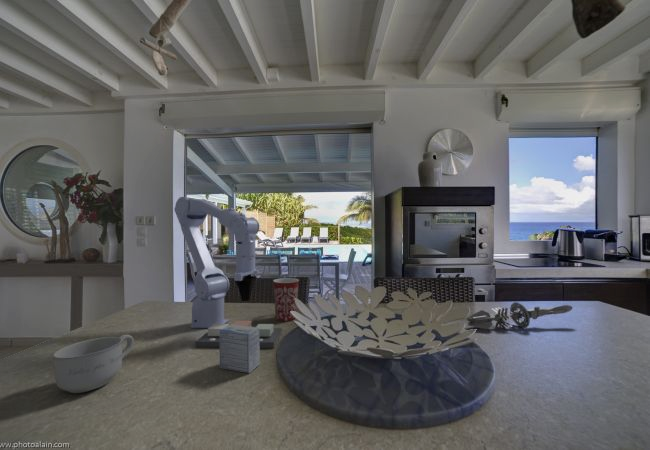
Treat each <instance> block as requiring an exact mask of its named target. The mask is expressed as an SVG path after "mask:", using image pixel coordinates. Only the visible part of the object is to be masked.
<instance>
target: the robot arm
mask: <svg viewBox="0 0 650 450" xmlns="http://www.w3.org/2000/svg"><path fill="white" fill-rule="evenodd" d="M174 213H175V215H176V218H177V221H178V223H179V226H180V229H181V232H182V235H183V237H184V239H185V243H186V245H187V248H188V249H189V252H190V255H191V258H192V260H193V262H194V265H195V267H196V270H197V274H196V275H195V276H194V278H193V279H192V280H193V283H194V293H195V294H196V296H197V297H196V298H194V299H193V301H192V305H191V325H190V329H191V328H193V329H197V328H198V329H202V328H203V329H208V328H209V327H211V326H212V325H213V324H227V322H228V321H230V320H229V318H225V296H226V294H227V293H228V291H229V289H230V280H229V278H228V277H227V275H225V274H224V272H223V270H222V269H220V268H218V267H217V266H215V263H214V261H213V258H212V256H211V254H210V251H209V249H208V247H207V244H206V242H205V239H204V237H203V233H202V232H201V229H200V226H202V224H204V221H205V219H206V218H207V216H211V217H214V218H216V219H217V220H218V223H219V224H220V225H222V226H224V227H225V228H228V229H229V230H230V231H232V233H233V234H234V241H235V243H236V244H235V245H236V246H235V249H236V250H235V251H236V252H235V256H236V257H235V273H234V275H233V276H234V278H233V280H234V283H235V284H236V286H237V288H238V290H239V295H240V300H241V301H242V302H249V301H250V300H251V296H252V291H253V286H254V284H255V281H256V280H257V276H256V275H255V274H259V273H260V270H259V269H256V235H257V234H258V233H259V230H260V222H259V221H258V220H257V219H256V218H255V217H251V216H250V217H247V216H246V214H245V213H239V212H237V211H236V208H234V207H229V208H228V207H227V208H223V209H222V208H221V207H220V206H217V205H216V204H214V203H212V201H210V200H207V199H204V198H201V199H200V198H193V197H186V196H179V197H178V199H177V200H176V203H175V206H174Z"/></svg>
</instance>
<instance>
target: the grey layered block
mask: <svg viewBox="0 0 650 450" xmlns="http://www.w3.org/2000/svg"><path fill="white" fill-rule="evenodd" d="M260 350H261V348H260V345H259V328H257V327H256V326H251V327H249V326H241V325H232V324H229V326H227V327H225V328H223V329H222V330H220V348H219V368H220V369H223V370H228V371H229V370H230V371H235V372H241V373H246V374H251V373H252V372H253V371H254V370H256V368H257V367H258V366H260V363H261V351H260Z"/></svg>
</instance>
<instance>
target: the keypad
mask: <svg viewBox="0 0 650 450" xmlns="http://www.w3.org/2000/svg"><path fill="white" fill-rule="evenodd" d="M282 330H283V328H282V327H274V331H273V333H272V334H271V336H270V337H259V345H260V349H275V347H276V345H277V344H278V342H279V339H280V338H281V335H282V334H283V331H282ZM194 344H195V348H215V349H216V348H219V349H220V336H208V331H207V332H205V334H203V335H202V336H201V337H199V338H198V339H197V340H196V341H195V343H194Z"/></svg>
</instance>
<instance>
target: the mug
mask: <svg viewBox="0 0 650 450" xmlns="http://www.w3.org/2000/svg"><path fill="white" fill-rule="evenodd" d="M272 282H273V294H274V296H273V297H274V312H275V319H276V321H278V322H291V321H294V318H293V316H292V314H291V313H290V311H291V310H293V311H296V312H298V310H297V309H298V305H297V306H296V304H295V300H294V298H297V299H298V298H299V297H298V295H299V294H298V293H299V282H300V279H298V278H293V277H282V278H275V279H273V280H272Z"/></svg>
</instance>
